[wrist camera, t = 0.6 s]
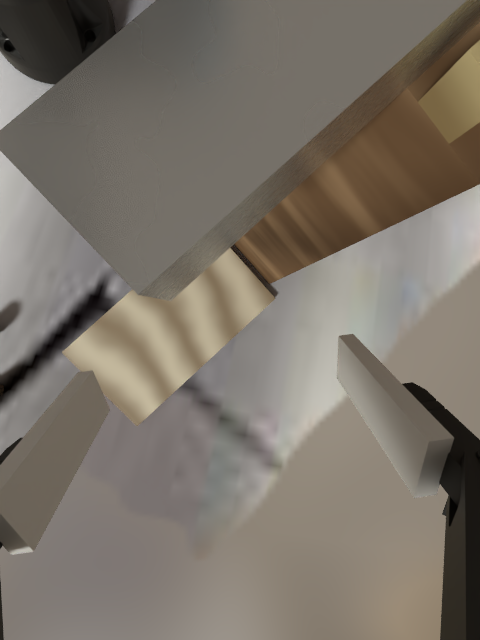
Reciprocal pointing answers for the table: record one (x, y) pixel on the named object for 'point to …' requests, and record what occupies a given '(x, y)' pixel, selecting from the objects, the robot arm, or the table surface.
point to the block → (216, 119)
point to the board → (167, 335)
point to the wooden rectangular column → (381, 170)
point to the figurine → (1, 389)
